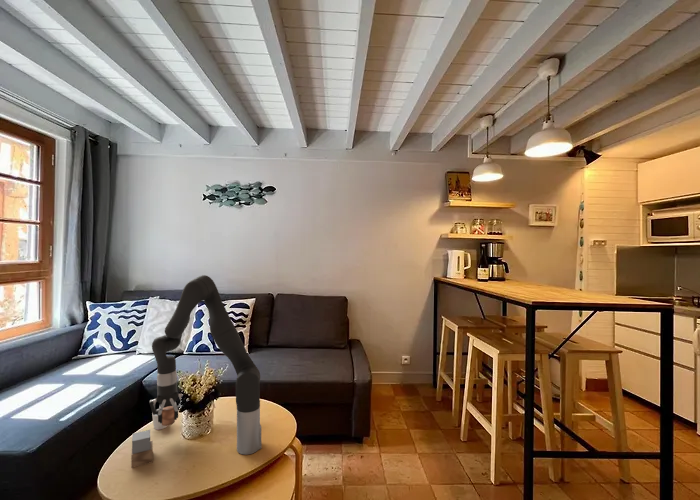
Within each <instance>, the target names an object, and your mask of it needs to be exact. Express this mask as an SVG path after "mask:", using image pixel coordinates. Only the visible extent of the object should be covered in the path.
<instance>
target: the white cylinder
mask: <svg viewBox="0 0 700 500" xmlns="http://www.w3.org/2000/svg"><path fill="white" fill-rule="evenodd" d="M158 409H159V408H157V409H156V410H158ZM161 413H162V412H161ZM151 414H152V415H151V416H152V425H153V429H154V430H157V431H158V430H163V429H165V428H167V427H168V426H163V425H162V423H160V422H158V415H156V414H155V415H153V413H151Z"/></svg>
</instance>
